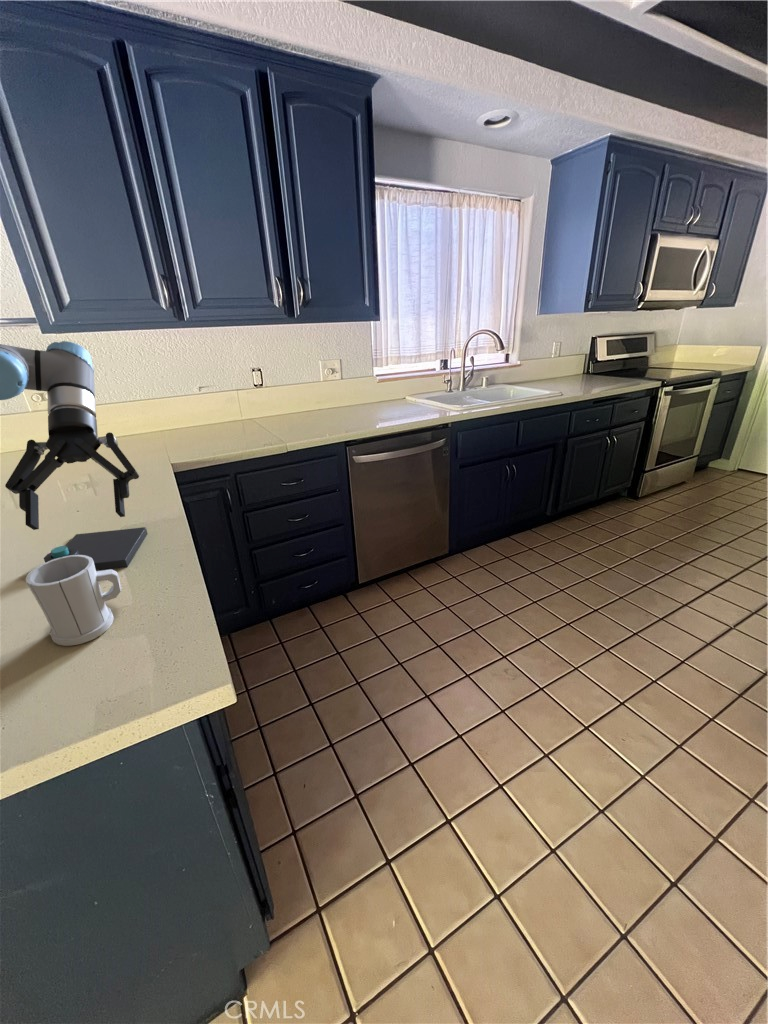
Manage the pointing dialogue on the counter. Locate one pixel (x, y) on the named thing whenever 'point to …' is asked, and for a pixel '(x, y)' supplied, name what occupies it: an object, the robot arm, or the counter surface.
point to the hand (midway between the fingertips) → (77, 520)
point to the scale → (107, 547)
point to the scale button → (59, 552)
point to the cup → (73, 598)
